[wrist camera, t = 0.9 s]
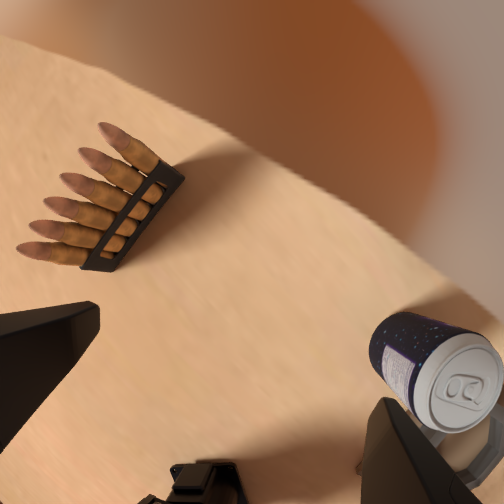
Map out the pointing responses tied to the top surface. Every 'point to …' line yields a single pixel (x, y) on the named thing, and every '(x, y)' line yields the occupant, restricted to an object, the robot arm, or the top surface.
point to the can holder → (470, 446)
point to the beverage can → (437, 370)
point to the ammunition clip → (105, 205)
